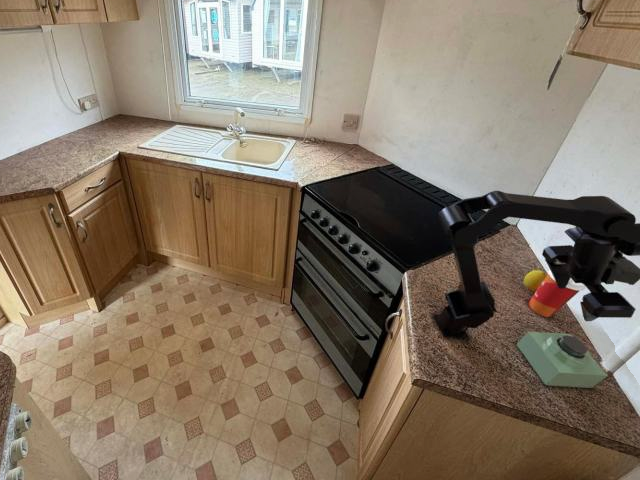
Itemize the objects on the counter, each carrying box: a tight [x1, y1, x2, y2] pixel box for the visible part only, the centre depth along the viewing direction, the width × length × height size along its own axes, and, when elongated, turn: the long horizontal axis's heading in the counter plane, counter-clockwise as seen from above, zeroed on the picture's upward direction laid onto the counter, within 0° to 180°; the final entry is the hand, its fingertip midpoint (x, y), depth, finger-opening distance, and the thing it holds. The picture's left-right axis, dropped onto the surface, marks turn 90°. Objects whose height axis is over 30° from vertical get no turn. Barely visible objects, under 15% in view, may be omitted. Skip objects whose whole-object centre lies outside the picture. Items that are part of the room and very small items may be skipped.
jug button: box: [558, 335, 588, 358], centre depth 72 cm, size 4×4×2 cm
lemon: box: [523, 269, 548, 293], centre depth 94 cm, size 6×6×8 cm
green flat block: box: [515, 331, 609, 389], centre depth 74 cm, size 11×10×8 cm
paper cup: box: [528, 269, 586, 318], centre depth 87 cm, size 8×8×14 cm
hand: (573, 303), depth 72 cm, fingers open, 9 cm apart
